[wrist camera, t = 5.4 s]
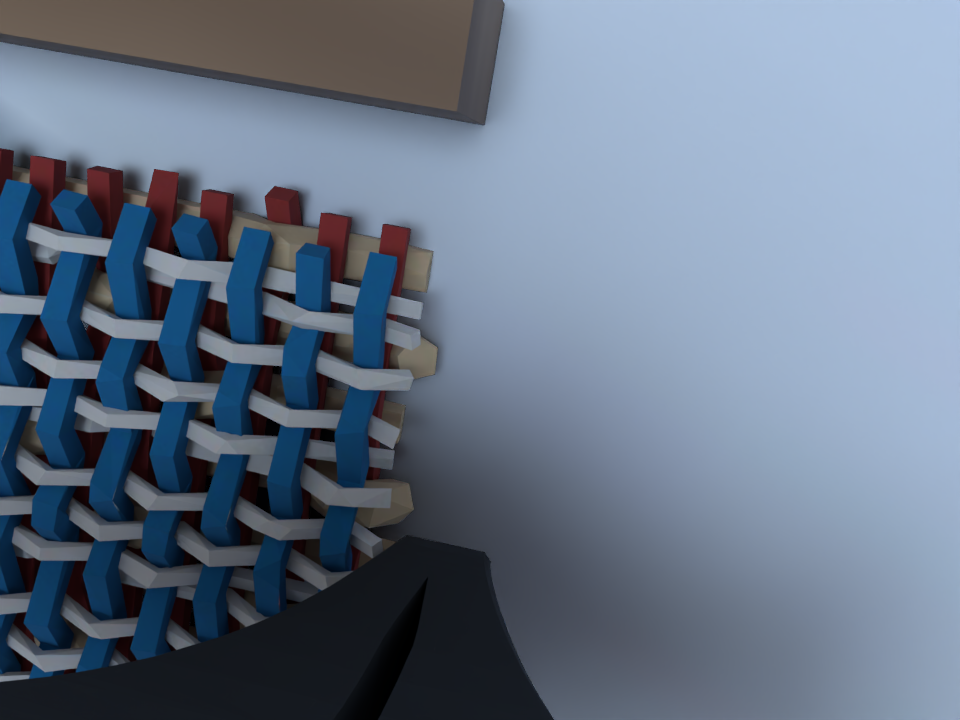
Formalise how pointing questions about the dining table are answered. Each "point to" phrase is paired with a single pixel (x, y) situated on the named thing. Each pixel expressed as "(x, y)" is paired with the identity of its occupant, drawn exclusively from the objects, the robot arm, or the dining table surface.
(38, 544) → the woven mat
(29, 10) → the walled channel
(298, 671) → the robot arm
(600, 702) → the dining table surface
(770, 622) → the dining table surface
